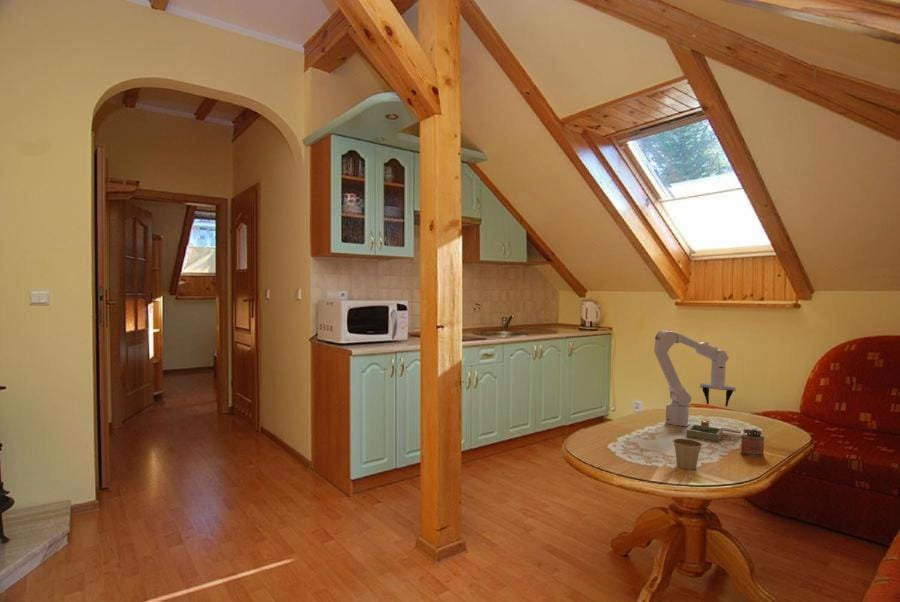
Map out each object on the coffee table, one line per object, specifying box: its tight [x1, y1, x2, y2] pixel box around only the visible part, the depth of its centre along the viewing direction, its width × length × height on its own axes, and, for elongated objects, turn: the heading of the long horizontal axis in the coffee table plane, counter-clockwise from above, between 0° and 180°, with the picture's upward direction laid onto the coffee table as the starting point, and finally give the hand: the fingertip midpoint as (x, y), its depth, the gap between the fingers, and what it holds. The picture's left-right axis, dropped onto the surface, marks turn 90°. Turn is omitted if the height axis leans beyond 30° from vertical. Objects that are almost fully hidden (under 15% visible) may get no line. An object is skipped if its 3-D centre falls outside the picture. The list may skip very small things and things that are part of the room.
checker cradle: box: [718, 426, 745, 439], centre depth 223 cm, size 10×10×1 cm
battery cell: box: [700, 419, 710, 433], centre depth 217 cm, size 3×3×6 cm
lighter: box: [740, 428, 765, 458], centre depth 192 cm, size 8×3×10 cm, turn 84°
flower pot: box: [672, 438, 703, 471], centre depth 178 cm, size 9×9×9 cm
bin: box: [686, 423, 724, 443], centre depth 217 cm, size 12×12×3 cm
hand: (717, 405), depth 236 cm, fingers open, 7 cm apart
